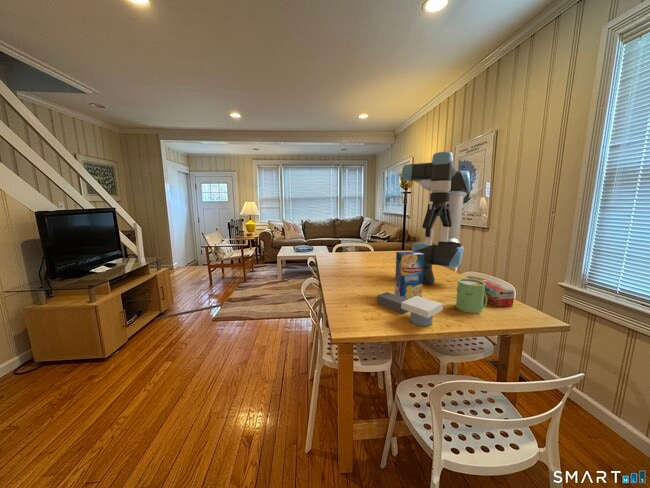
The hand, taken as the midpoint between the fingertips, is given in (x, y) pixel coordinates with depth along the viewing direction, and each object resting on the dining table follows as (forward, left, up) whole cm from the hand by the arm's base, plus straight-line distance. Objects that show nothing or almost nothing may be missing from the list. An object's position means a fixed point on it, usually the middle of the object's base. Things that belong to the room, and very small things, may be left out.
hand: (436, 243), depth 107 cm
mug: (-11, +12, -29) cm, 33 cm away
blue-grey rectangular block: (+12, -11, -29) cm, 33 cm away
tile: (+16, +4, -24) cm, 29 cm away
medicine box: (-29, +14, -29) cm, 44 cm away
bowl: (+16, +4, -29) cm, 33 cm away
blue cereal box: (-3, -14, -29) cm, 32 cm away
